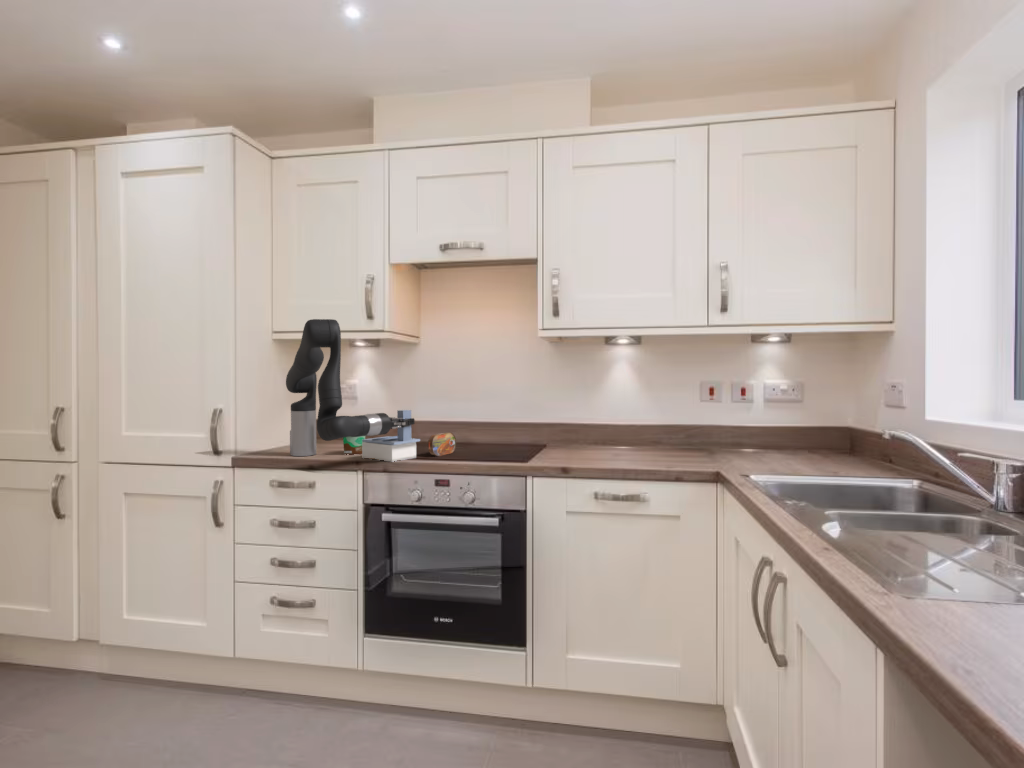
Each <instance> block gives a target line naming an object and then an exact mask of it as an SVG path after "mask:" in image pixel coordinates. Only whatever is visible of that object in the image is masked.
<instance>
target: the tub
mask: <svg viewBox="0 0 1024 768" xmlns="http://www.w3.org/2000/svg"><path fill="white" fill-rule="evenodd" d="M361 456H362V457H361V458H362V459H364V458H375V459H379V460H378V461H380V460H384V461H383V462H389V463H395V462H398V461H397V460H401V461H405V460H412V459H417V442H411V443H404V444H397V445H390V444H381V443H371V442H362V454H361ZM394 461H395V462H394Z"/></svg>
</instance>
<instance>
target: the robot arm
mask: <svg viewBox="0 0 1024 768" xmlns="http://www.w3.org/2000/svg"><path fill="white" fill-rule="evenodd" d="M341 334H342V333H341V327H340V324H339V322H338V320H336V319H333V318H332V319H331V318H330V319H325V318H322V319H320V318H319V319H318V318H313V319H308V320H307V321H306V322H305V324H304V327H303V331H302V334H301V335H302V336H301V341H300V344H299V347H298V350H297V351H296V354H295V357H294V360H293V362H292V363H293V364H292V365H291V366H290V368H289V370H288V372H287V374H286V376H285V377H286V379H285V385H286V389H287V391H289V392H290V393H292V394H306V395H305V397H303V398H301V399H300V400H297V401H294V402H292V403H291V404H290V430H289V455H290V456H293V457H306V456H307V457H309V456H315V455H317V435H318V436H319V438H321V440H323V441H326V442H330V441H334V440H338V439H339V440H340V439H343V438H344V437H350V436H351V437H360V436H365V437H373V436H381V435H383V436H384V435H387V434H388V433H389V432H390V430H396V429H398V428H401V427H402V428H404V427H407V426H410V425H411V426H412V425H415V418H414V417H413V418H412V417H411V418H410V419H407V418H405V419H403V418H397V417H390V416H389V415H388V414H387V413H384V412H377V413H367V414H362V415H337V413H338V411H339V410H340V409H341V408H342V407H343V398H342V387H341V386H342V385H341V360H342V359H341V357H342V354H341V353H342V350H341V349H342V345H341V344H342V341H341V340H342V335H341ZM322 348H329V349H330V350H329V351H330V354H329V359H328V361H327V363H326V366H325V368H324V369H323V372H322V373H321V375H320V377H319V379H318V378H317V377H318V376H317V372H318V371H319V370H320V368H321V367H322V365H323V362H324V360H325V359H324V358H325V354H324V352H323V349H322ZM317 379H318V381H317ZM317 382H318V383H317ZM317 392H318V394H317ZM317 395H318V401H319V402H318V403H319V407H318V412H317Z"/></svg>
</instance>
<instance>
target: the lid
mask: <svg viewBox="0 0 1024 768" xmlns="http://www.w3.org/2000/svg"><path fill="white" fill-rule="evenodd" d="M396 416H397V417H396V418H403V419H405V418H407V419H410V418H412V410H411V409H398V410H397V415H396ZM362 442H371V443H381V444H390V445H397V444H404V443H411V442H416V443H418V442H421V438H414V437H412V425H410V426H407V427H404V428H402V427H401V428H397V435H394V436H389V435H388V436H378V437H373V438H372V437H371V438H365V439H362Z"/></svg>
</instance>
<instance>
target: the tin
mask: <svg viewBox="0 0 1024 768" xmlns="http://www.w3.org/2000/svg"><path fill="white" fill-rule="evenodd" d="M456 447H457V439H456V436H455V435H454V433H453V432H450V431H449V432H443V433H441V432H440V433H436V434H435V433H434V434H432V435H431V436H430V437H429V438H428V441H427V448H428V452H429V454H430V455H432V457H433V456H435V457H442V456H446V455H451V454H453V453H454V451H455V450H456Z"/></svg>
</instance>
